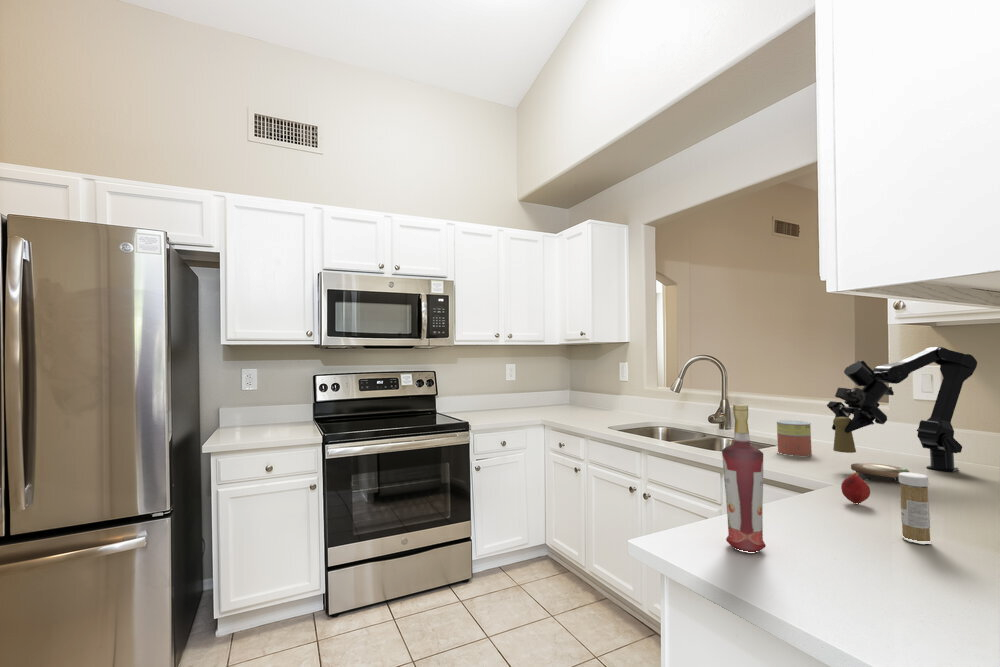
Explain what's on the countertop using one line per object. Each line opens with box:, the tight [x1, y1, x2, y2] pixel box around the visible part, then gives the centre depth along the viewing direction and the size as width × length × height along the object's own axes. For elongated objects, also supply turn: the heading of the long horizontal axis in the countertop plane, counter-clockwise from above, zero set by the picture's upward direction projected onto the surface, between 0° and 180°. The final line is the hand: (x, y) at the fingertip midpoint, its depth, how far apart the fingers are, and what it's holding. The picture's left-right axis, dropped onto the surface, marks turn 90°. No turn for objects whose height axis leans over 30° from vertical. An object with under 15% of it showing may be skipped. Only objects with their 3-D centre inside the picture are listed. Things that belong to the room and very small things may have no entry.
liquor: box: [721, 404, 766, 552], centre depth 92 cm, size 7×7×28 cm
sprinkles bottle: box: [898, 471, 931, 541], centre depth 95 cm, size 5×5×14 cm
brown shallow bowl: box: [850, 462, 910, 483], centre depth 144 cm, size 14×14×4 cm
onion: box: [840, 471, 871, 505], centre depth 119 cm, size 6×6×8 cm
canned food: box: [776, 420, 813, 457], centre depth 181 cm, size 11×11×12 cm
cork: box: [832, 417, 857, 454], centre depth 153 cm, size 6×6×11 cm
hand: (839, 430), depth 153 cm, fingers closed on cork, 5 cm apart
